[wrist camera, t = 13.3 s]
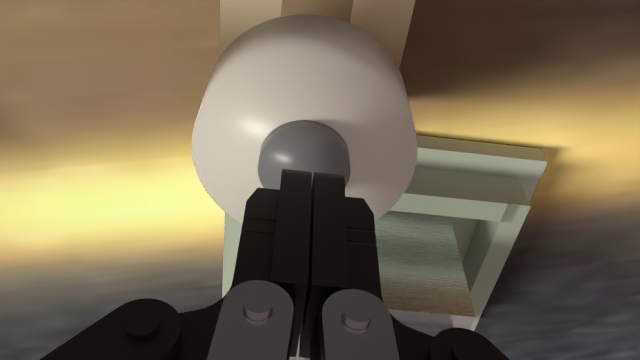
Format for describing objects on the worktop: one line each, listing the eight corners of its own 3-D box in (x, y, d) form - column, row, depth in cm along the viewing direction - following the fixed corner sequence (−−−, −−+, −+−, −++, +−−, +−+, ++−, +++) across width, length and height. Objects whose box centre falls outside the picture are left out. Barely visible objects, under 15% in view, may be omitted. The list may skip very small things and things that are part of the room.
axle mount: (372, 100, 25) (380, 153, 21) (232, 83, 24) (217, 136, 21) (402, -44, 21) (416, -5, 18) (237, -66, 20) (220, -30, 17)
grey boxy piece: (424, 286, 30) (445, 406, 25) (291, 274, 30) (284, 393, 24) (449, 215, 27) (480, 333, 22) (302, 200, 27) (296, 317, 21)
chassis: (467, 318, 33) (478, 362, 31) (224, 297, 32) (216, 341, 30) (541, 148, 26) (563, 190, 24) (230, 114, 25) (221, 154, 23)
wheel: (377, 131, 23) (394, 263, 17) (223, 115, 22) (188, 244, 16) (410, -21, 19) (446, 82, 13) (227, -45, 18) (184, 51, 13)
